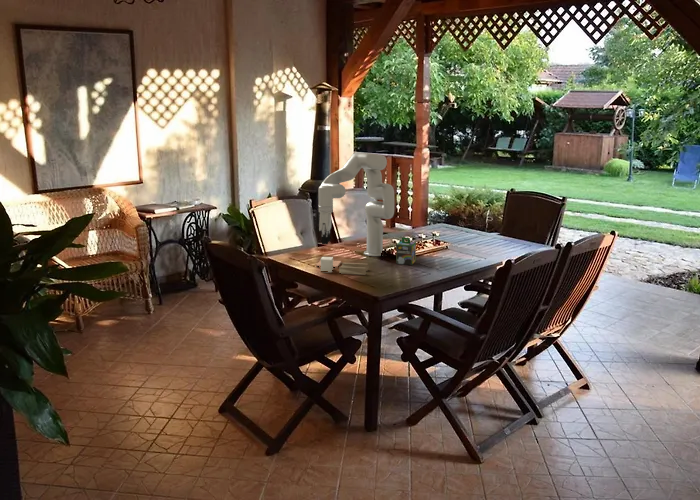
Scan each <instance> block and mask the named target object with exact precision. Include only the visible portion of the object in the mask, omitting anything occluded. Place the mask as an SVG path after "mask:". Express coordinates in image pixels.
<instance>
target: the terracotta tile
mask: <svg viewBox="0 0 700 500" xmlns="http://www.w3.org/2000/svg"><path fill="white" fill-rule="evenodd" d="M340 265H342V260H333V267H335V268H334V269H338V268H339V267H340ZM316 266H321V259H320V260H319V261H318V262H317V263H316V265H315V267H316ZM338 266H339V267H338Z"/></svg>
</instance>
